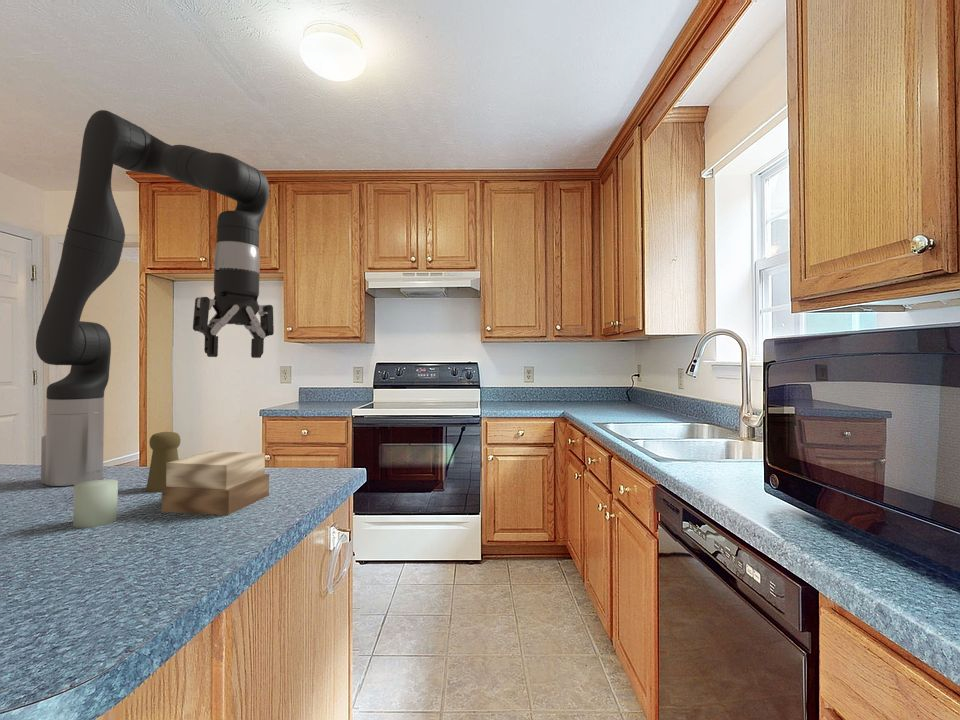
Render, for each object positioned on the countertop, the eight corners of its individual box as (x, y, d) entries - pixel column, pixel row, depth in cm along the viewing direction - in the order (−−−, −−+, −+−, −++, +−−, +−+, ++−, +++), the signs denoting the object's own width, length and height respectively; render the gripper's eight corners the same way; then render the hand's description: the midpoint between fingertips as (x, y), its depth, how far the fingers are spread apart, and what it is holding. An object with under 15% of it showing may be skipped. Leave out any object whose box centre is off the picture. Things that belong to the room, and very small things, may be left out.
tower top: (166, 486, 82) (166, 462, 82) (210, 472, 92) (211, 451, 92) (226, 489, 80) (226, 465, 80) (264, 474, 91) (264, 453, 91)
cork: (149, 485, 97) (150, 431, 98) (184, 483, 100) (185, 429, 100) (143, 493, 92) (143, 435, 92) (180, 490, 94) (181, 433, 95)
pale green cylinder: (63, 526, 73) (64, 487, 73) (95, 515, 79) (96, 478, 79) (95, 528, 73) (96, 488, 73) (126, 517, 78) (126, 480, 78)
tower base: (161, 514, 81) (161, 487, 81) (209, 495, 93) (210, 471, 93) (228, 517, 79) (228, 490, 79) (268, 497, 91) (269, 474, 91)
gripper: (259, 277, 98) (257, 357, 98) (186, 264, 86) (184, 356, 86) (283, 275, 94) (281, 358, 94) (210, 260, 82) (207, 356, 82)
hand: (234, 357), depth 90 cm, fingers open, 8 cm apart
